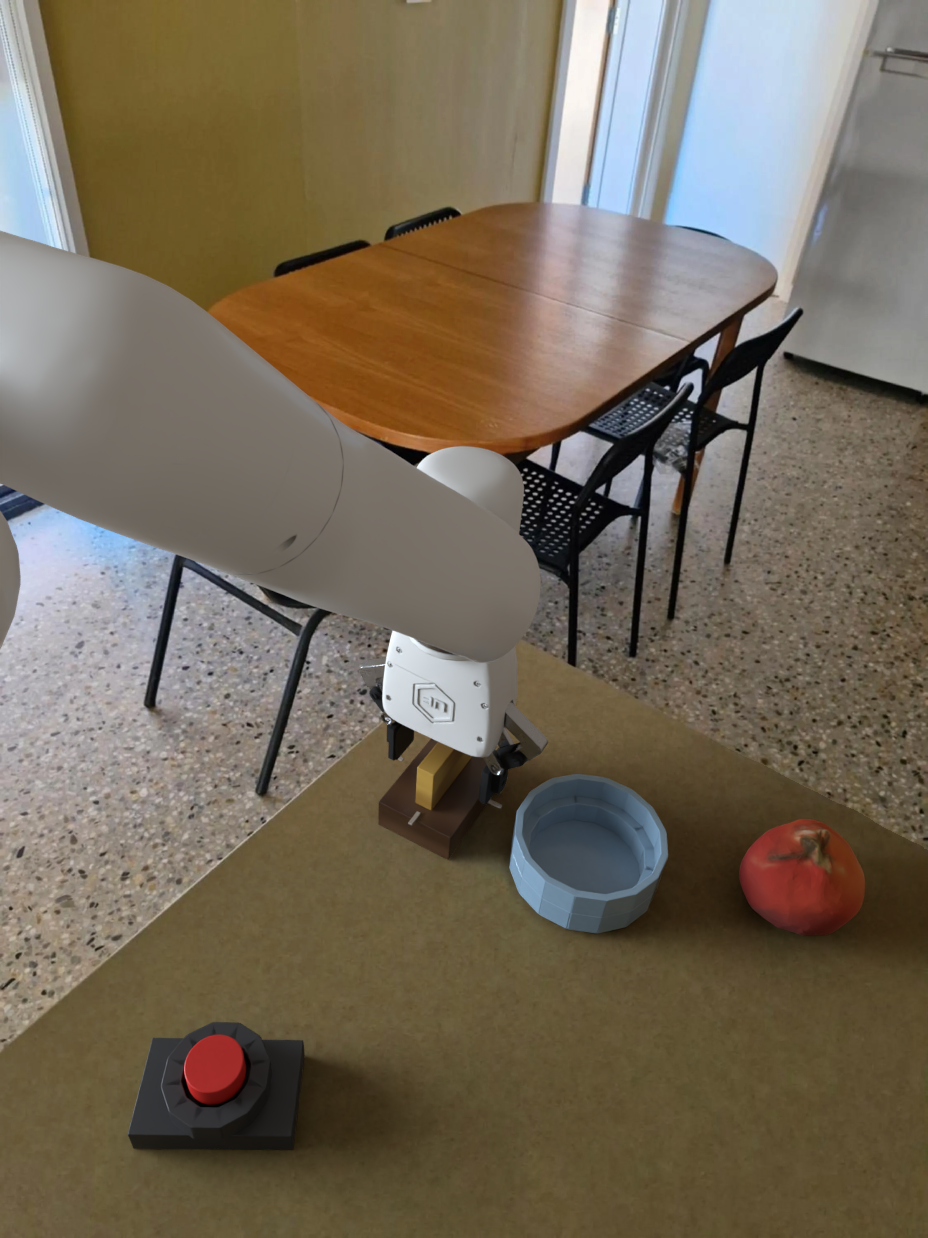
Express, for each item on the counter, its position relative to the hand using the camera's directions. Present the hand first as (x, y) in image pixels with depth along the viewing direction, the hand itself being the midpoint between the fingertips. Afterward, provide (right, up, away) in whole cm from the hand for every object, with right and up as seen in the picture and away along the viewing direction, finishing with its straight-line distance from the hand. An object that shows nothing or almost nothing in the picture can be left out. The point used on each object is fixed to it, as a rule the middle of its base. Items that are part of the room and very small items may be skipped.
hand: (444, 770), depth 76 cm
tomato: (+28, -11, -3) cm, 30 cm away
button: (-14, -16, -20) cm, 29 cm away
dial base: (0, -3, +3) cm, 4 cm away
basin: (+12, -8, -2) cm, 14 cm away
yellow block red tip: (0, -1, +1) cm, 1 cm away
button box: (-14, -19, -18) cm, 29 cm away
